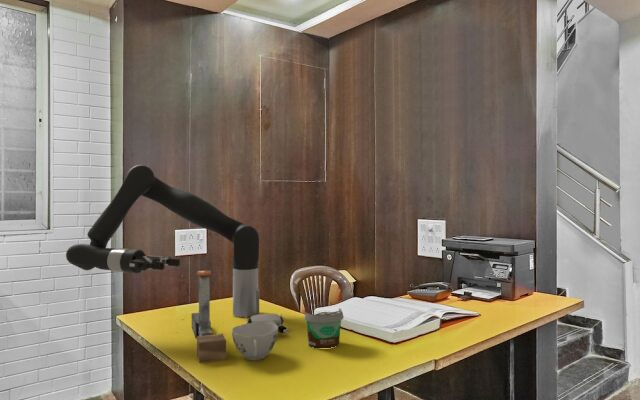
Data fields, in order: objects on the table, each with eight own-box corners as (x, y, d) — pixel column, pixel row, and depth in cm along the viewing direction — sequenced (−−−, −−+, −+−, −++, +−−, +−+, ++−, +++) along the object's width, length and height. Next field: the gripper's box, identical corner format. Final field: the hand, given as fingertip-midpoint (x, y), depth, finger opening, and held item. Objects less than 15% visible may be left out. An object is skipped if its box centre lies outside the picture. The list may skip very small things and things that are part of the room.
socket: (196, 355, 126) (196, 336, 126) (222, 352, 129) (222, 333, 129) (199, 362, 121) (199, 342, 121) (226, 359, 123) (226, 340, 123)
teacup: (233, 350, 131) (233, 322, 131) (277, 348, 132) (277, 320, 132) (230, 370, 116) (230, 338, 116) (279, 367, 117) (279, 336, 117)
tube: (192, 324, 154) (192, 264, 154) (204, 323, 155) (204, 263, 155) (199, 344, 133) (199, 274, 133) (213, 342, 135) (213, 274, 135)
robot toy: (291, 340, 143) (281, 324, 157) (291, 326, 142) (281, 311, 157) (251, 344, 139) (245, 327, 153) (251, 329, 139) (245, 313, 153)
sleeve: (191, 326, 154) (191, 313, 154) (205, 325, 156) (205, 312, 156) (195, 338, 142) (195, 323, 142) (210, 336, 143) (210, 321, 143)
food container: (313, 353, 128) (313, 317, 128) (304, 346, 134) (304, 312, 134) (351, 346, 134) (351, 312, 134) (340, 340, 139) (340, 307, 139)
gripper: (111, 251, 139) (159, 254, 135) (141, 246, 153) (184, 250, 149) (110, 275, 139) (158, 280, 135) (140, 269, 153) (183, 273, 149)
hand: (171, 264), depth 142 cm, fingers open, 8 cm apart
